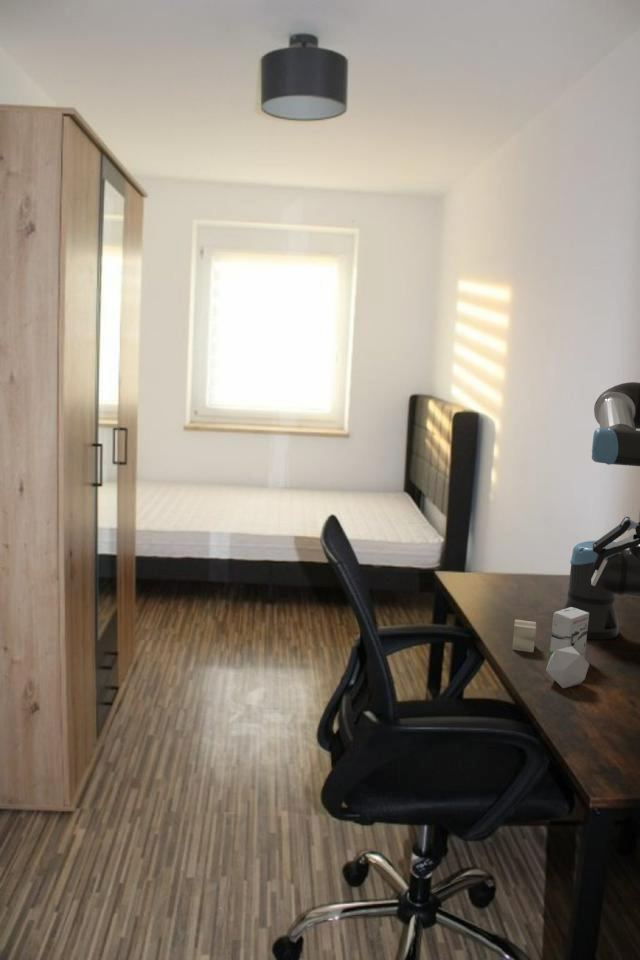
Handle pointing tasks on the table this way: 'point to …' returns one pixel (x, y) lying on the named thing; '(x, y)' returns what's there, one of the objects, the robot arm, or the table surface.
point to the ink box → (569, 630)
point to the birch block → (524, 635)
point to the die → (567, 667)
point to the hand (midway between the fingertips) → (623, 594)
